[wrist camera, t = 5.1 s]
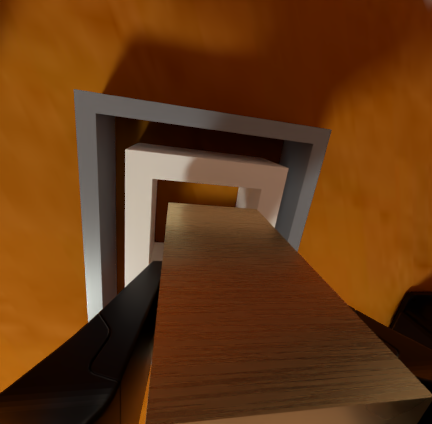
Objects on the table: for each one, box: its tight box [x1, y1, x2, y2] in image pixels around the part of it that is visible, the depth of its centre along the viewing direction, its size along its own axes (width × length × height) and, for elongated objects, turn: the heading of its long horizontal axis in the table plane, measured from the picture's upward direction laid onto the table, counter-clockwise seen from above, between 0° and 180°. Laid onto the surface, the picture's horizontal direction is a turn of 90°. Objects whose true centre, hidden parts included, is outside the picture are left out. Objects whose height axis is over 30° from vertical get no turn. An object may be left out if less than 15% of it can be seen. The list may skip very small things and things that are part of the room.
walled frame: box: [74, 89, 331, 364], centre depth 15 cm, size 12×16×4 cm
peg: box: [145, 202, 432, 424], centre depth 7 cm, size 4×4×8 cm
